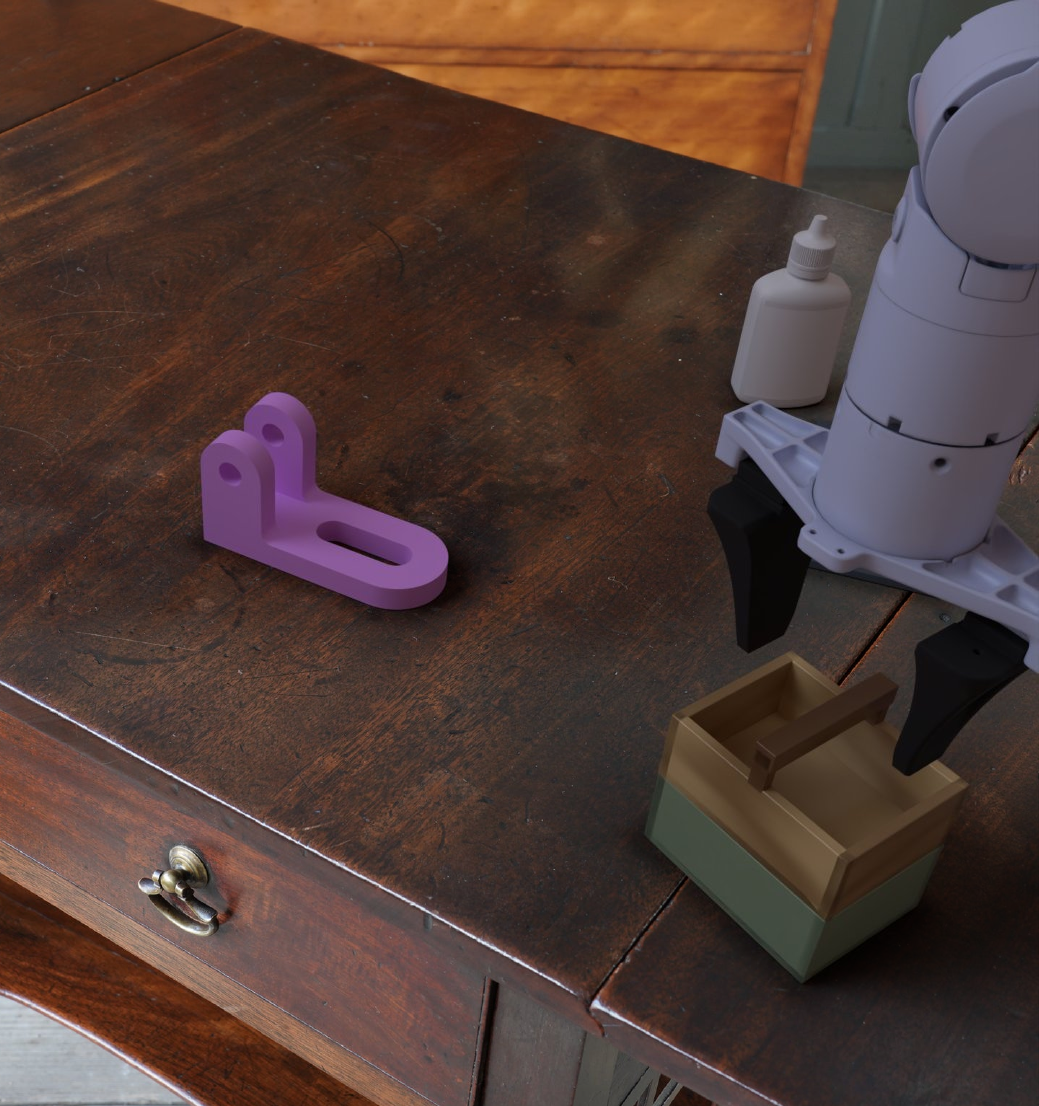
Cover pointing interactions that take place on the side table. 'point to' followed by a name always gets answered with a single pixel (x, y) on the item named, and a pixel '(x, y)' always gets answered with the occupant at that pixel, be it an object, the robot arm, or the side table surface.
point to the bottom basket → (774, 889)
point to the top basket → (810, 780)
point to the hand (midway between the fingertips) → (835, 697)
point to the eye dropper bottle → (793, 326)
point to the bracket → (309, 514)
